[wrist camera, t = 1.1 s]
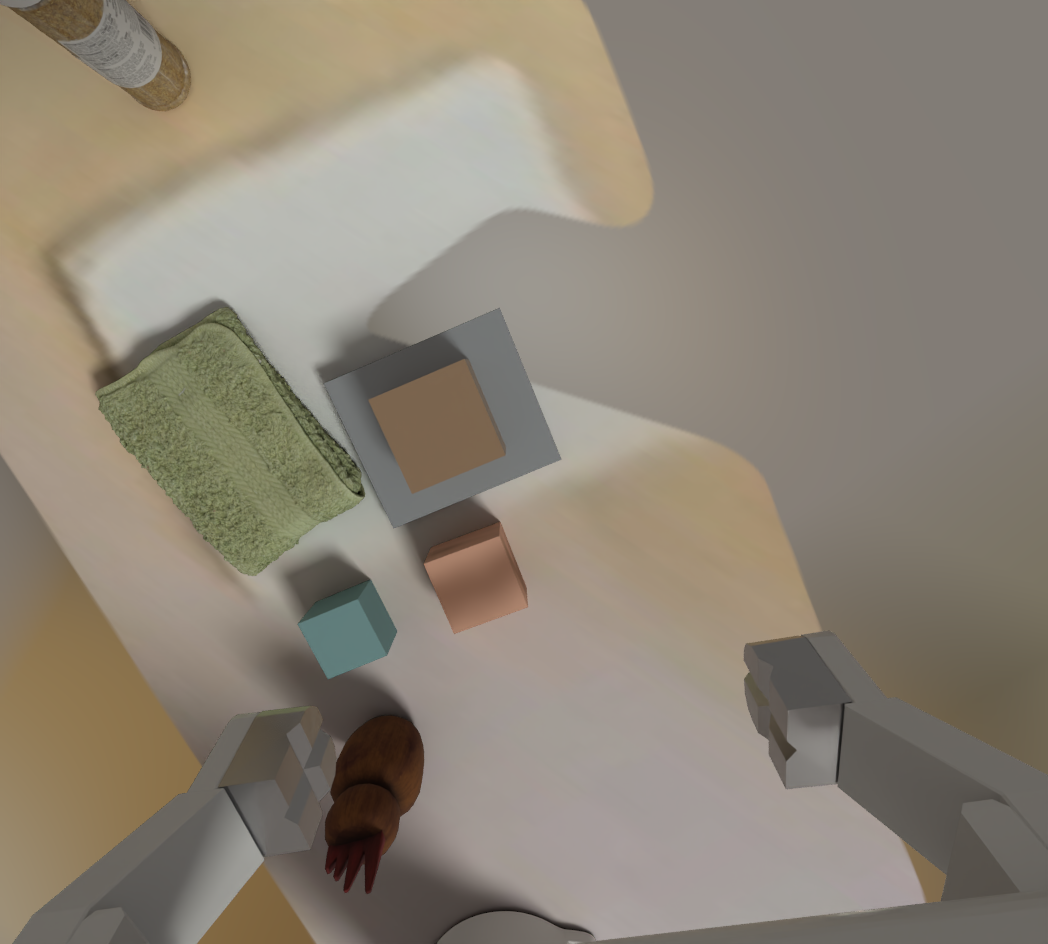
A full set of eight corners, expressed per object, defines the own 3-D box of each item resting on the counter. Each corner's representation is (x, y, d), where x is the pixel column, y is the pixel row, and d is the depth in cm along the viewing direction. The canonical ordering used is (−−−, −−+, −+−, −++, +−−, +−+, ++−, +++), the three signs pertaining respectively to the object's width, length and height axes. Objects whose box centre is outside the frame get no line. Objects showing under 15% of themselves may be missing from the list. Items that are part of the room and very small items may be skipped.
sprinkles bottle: (116, 50, 37) (-100, -122, 24) (180, 32, 37) (-2, -151, 24) (141, 122, 38) (-53, -6, 25) (204, 104, 38) (42, -34, 25)
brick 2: (526, 586, 46) (527, 607, 42) (458, 611, 46) (454, 633, 42) (500, 521, 44) (499, 536, 41) (431, 546, 45) (423, 563, 41)
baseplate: (559, 456, 43) (566, 468, 38) (397, 523, 44) (381, 544, 39) (499, 310, 41) (498, 301, 36) (330, 382, 42) (303, 385, 37)
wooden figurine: (433, 708, 47) (398, 863, 33) (427, 767, 48) (391, 943, 34) (354, 701, 47) (282, 853, 32) (350, 760, 48) (278, 935, 33)
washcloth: (233, 299, 41) (209, 293, 38) (379, 487, 44) (369, 496, 41) (101, 401, 42) (68, 404, 39) (253, 578, 45) (233, 594, 42)
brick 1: (397, 630, 46) (386, 655, 42) (343, 652, 46) (327, 679, 42) (371, 578, 45) (357, 599, 41) (316, 601, 45) (297, 624, 41)
